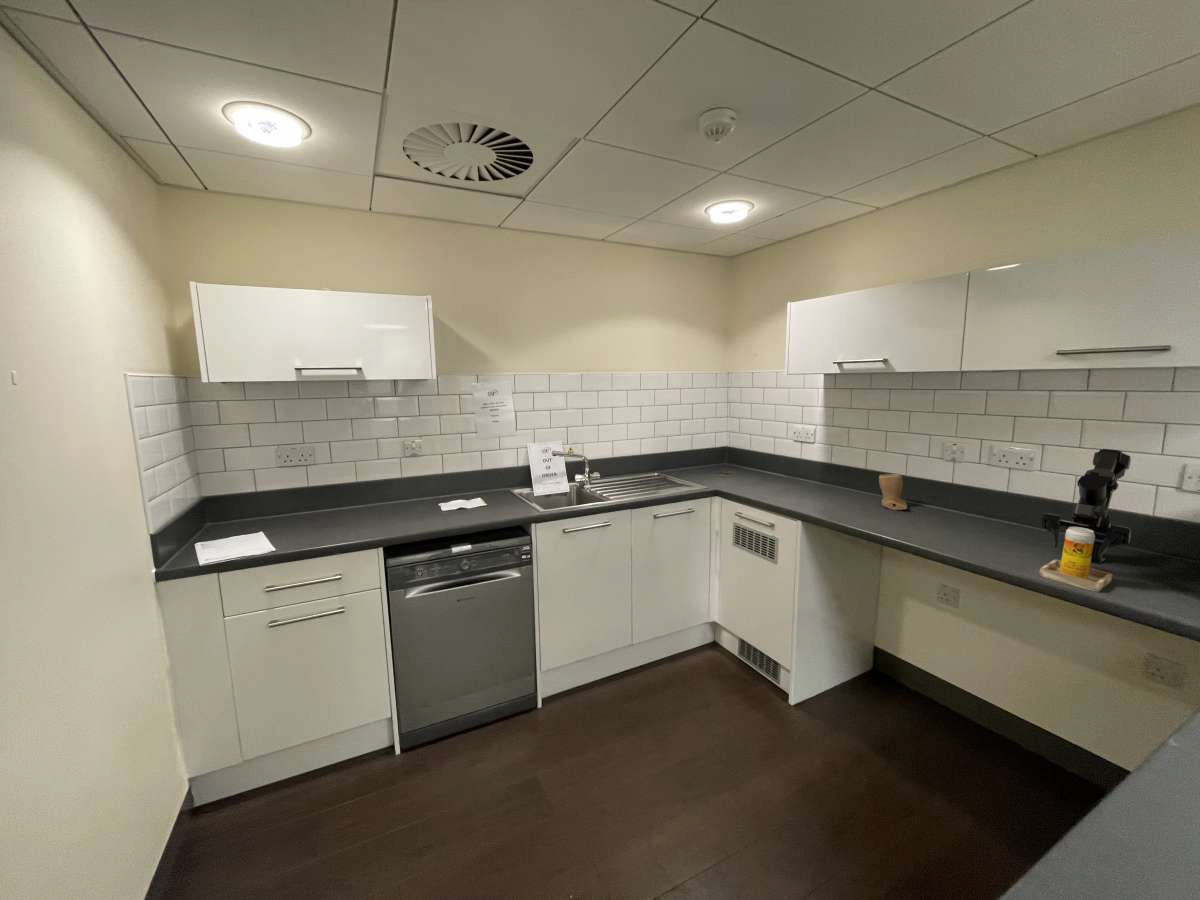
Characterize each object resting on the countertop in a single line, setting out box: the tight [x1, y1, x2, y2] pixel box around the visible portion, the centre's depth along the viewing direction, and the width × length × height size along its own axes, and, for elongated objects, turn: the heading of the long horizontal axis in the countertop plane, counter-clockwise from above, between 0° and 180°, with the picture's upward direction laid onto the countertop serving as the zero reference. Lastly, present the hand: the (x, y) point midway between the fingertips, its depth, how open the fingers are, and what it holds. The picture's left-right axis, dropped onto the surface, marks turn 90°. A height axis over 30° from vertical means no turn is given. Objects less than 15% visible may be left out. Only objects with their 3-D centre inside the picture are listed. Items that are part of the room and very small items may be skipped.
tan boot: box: [878, 473, 908, 511], centre depth 220 cm, size 15×12×15 cm
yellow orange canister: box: [1060, 527, 1095, 579], centre depth 143 cm, size 6×6×15 cm
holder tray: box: [1038, 559, 1114, 593], centre depth 145 cm, size 13×13×2 cm
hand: (1076, 551), depth 142 cm, fingers open, 9 cm apart
